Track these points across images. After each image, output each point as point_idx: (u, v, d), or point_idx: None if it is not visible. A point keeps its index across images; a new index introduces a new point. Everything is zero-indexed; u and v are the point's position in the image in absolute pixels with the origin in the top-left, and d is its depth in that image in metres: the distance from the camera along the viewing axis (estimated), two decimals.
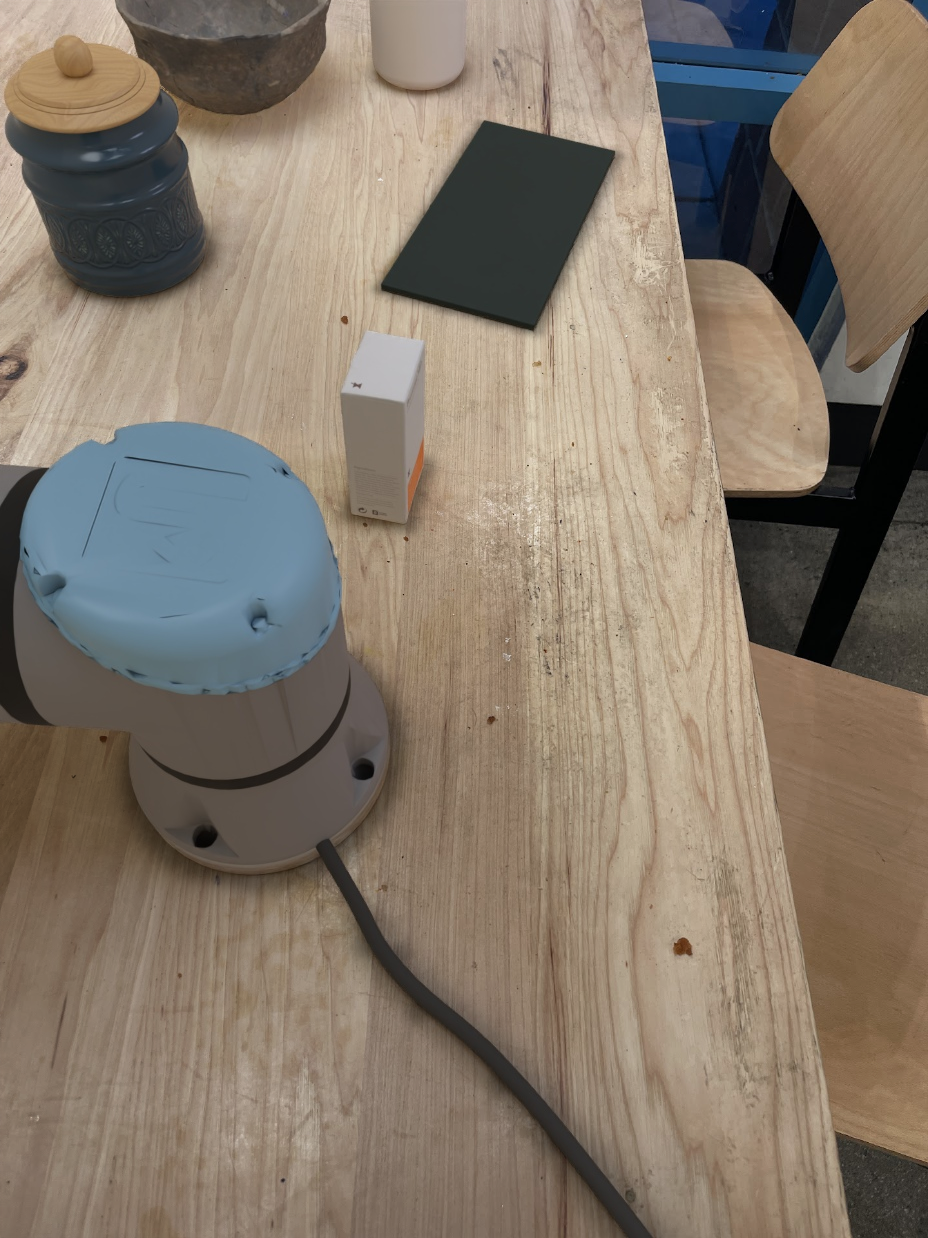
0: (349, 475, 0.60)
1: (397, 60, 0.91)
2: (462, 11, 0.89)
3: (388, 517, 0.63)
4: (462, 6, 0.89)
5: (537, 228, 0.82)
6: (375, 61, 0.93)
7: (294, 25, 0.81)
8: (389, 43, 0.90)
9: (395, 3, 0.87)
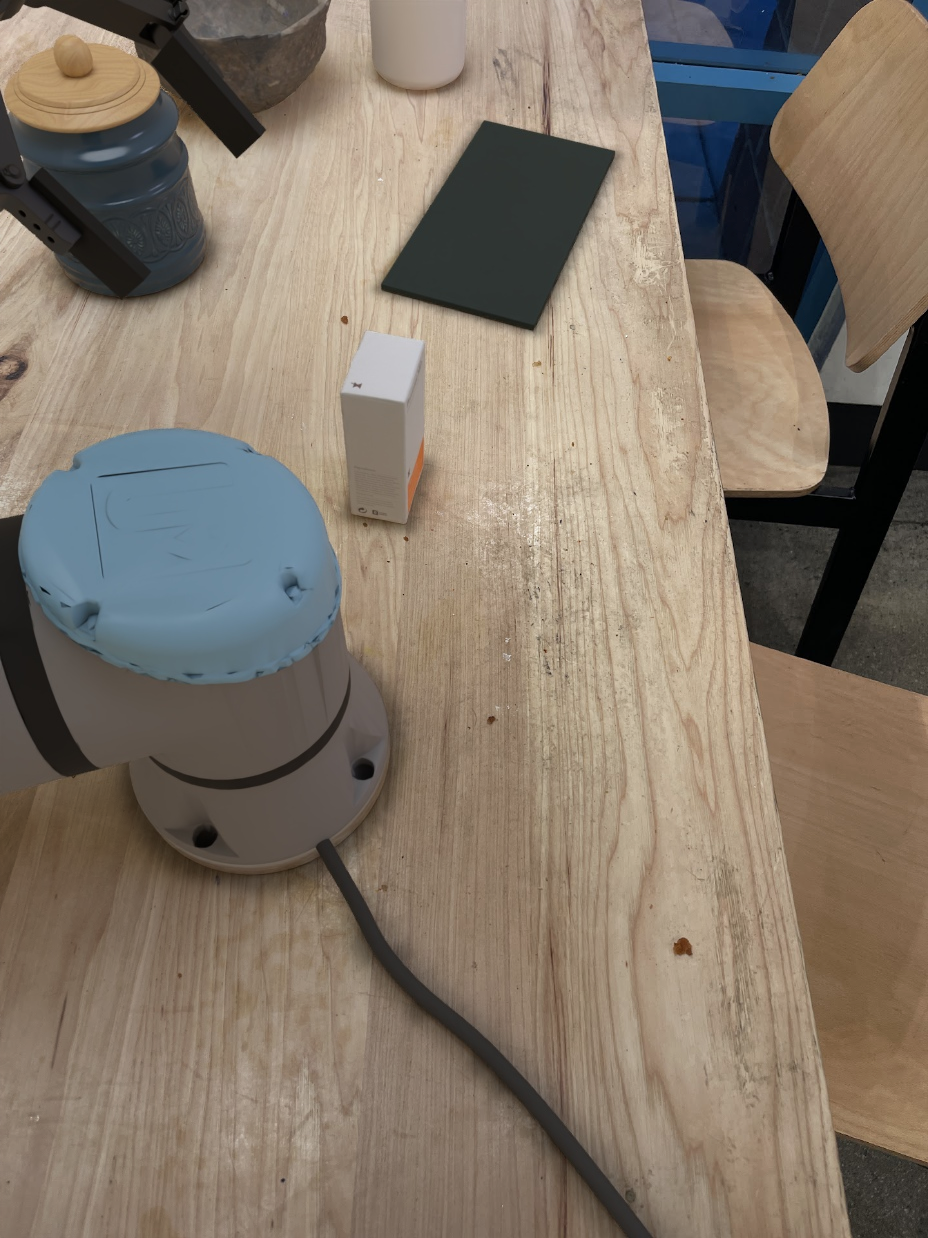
0: (349, 475, 0.60)
1: (397, 60, 0.91)
2: (462, 11, 0.89)
3: (388, 517, 0.63)
4: (462, 6, 0.89)
5: (537, 228, 0.82)
6: (375, 61, 0.93)
7: (294, 25, 0.81)
8: (389, 43, 0.90)
9: (395, 3, 0.87)
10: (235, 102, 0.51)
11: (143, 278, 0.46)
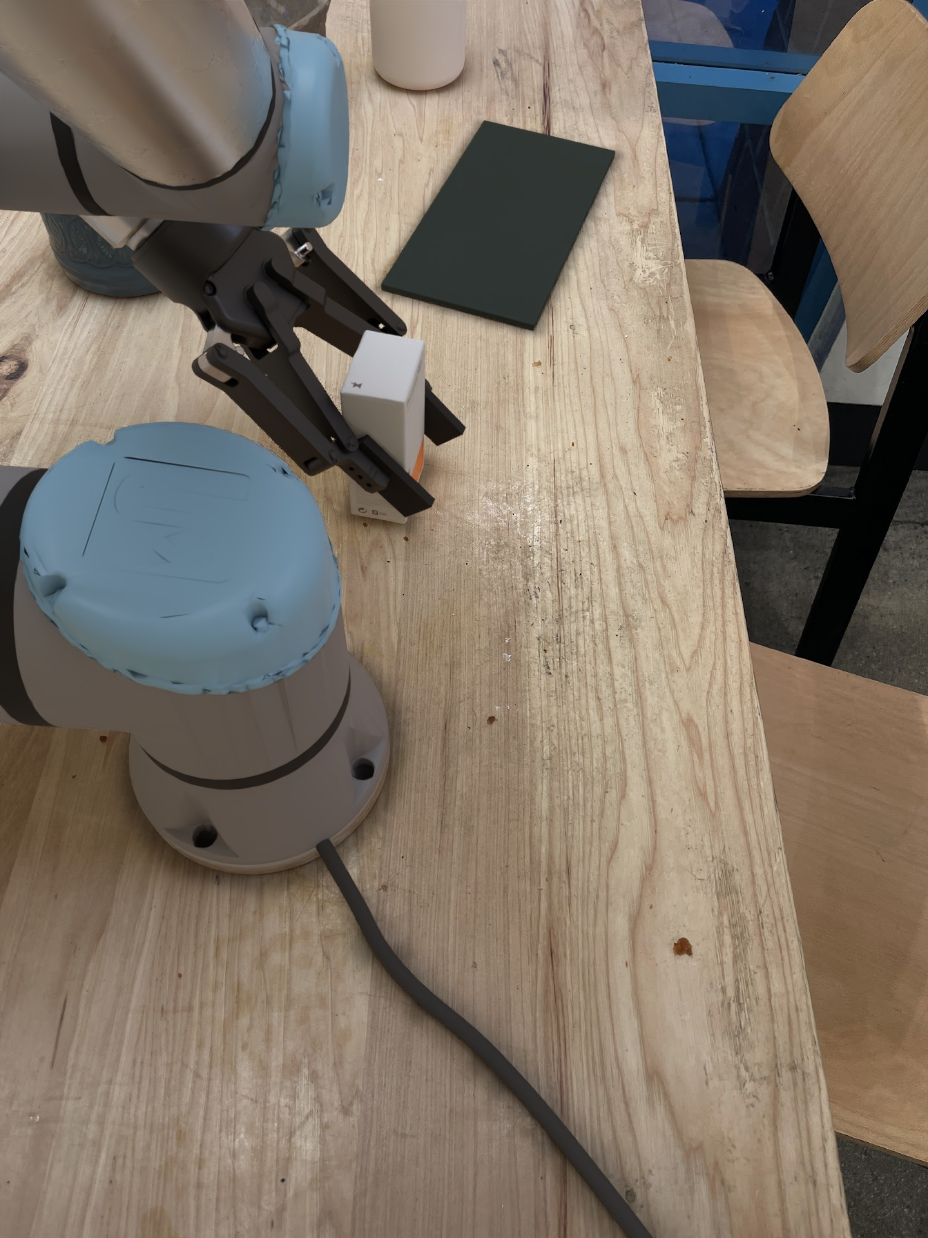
0: None
1: (397, 60, 0.91)
2: (462, 11, 0.89)
3: (388, 517, 0.63)
4: (462, 6, 0.89)
5: (537, 228, 0.82)
6: (375, 61, 0.93)
7: (294, 25, 0.81)
8: (389, 43, 0.90)
9: (395, 3, 0.87)
10: (444, 411, 0.62)
11: (430, 505, 0.59)
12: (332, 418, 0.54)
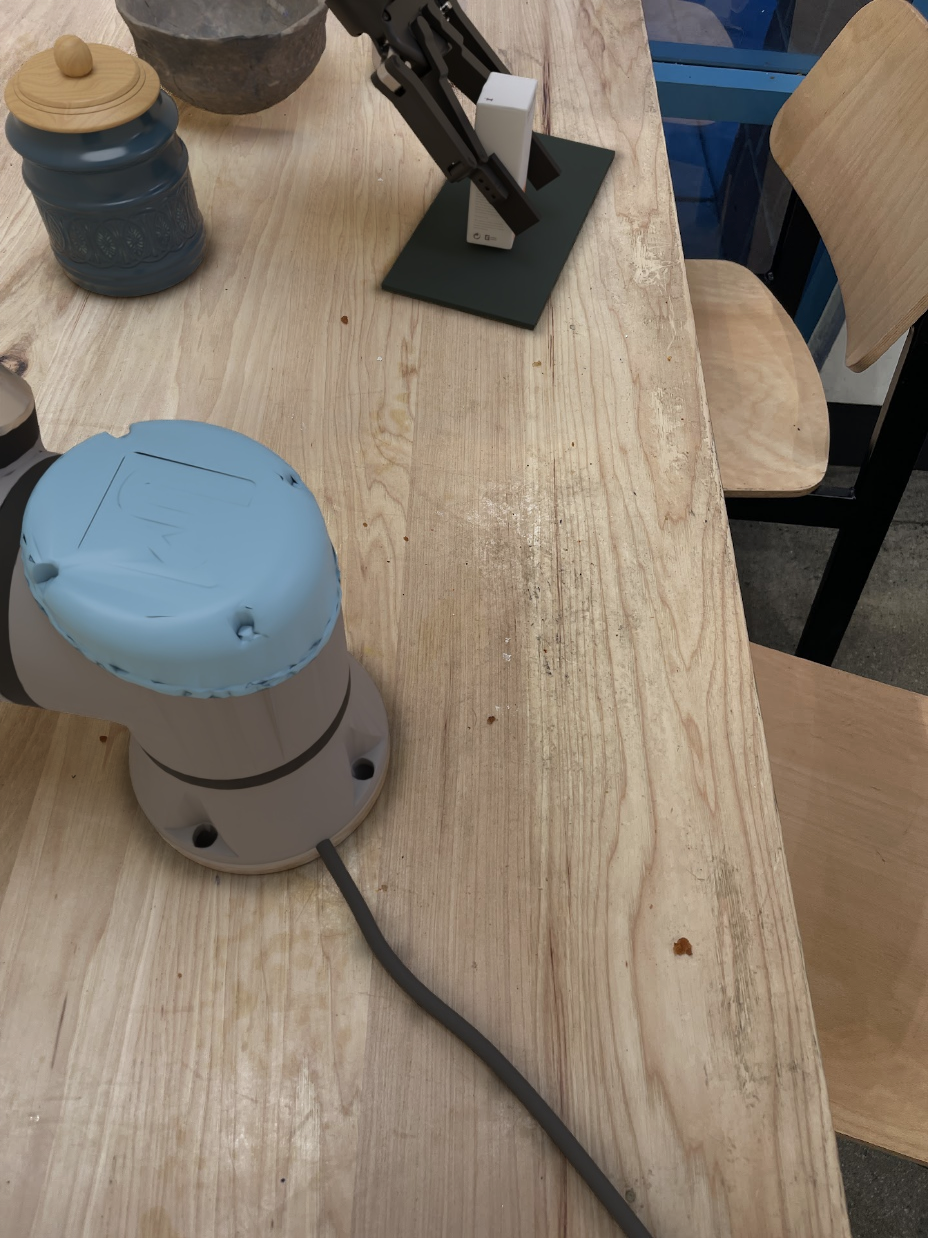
0: (471, 195, 0.76)
1: None
2: None
3: (497, 242, 0.78)
4: (462, 6, 0.89)
5: (537, 228, 0.82)
6: (375, 61, 0.93)
7: (294, 25, 0.81)
8: None
9: None
10: (546, 153, 0.78)
11: (539, 219, 0.75)
12: (469, 133, 0.70)
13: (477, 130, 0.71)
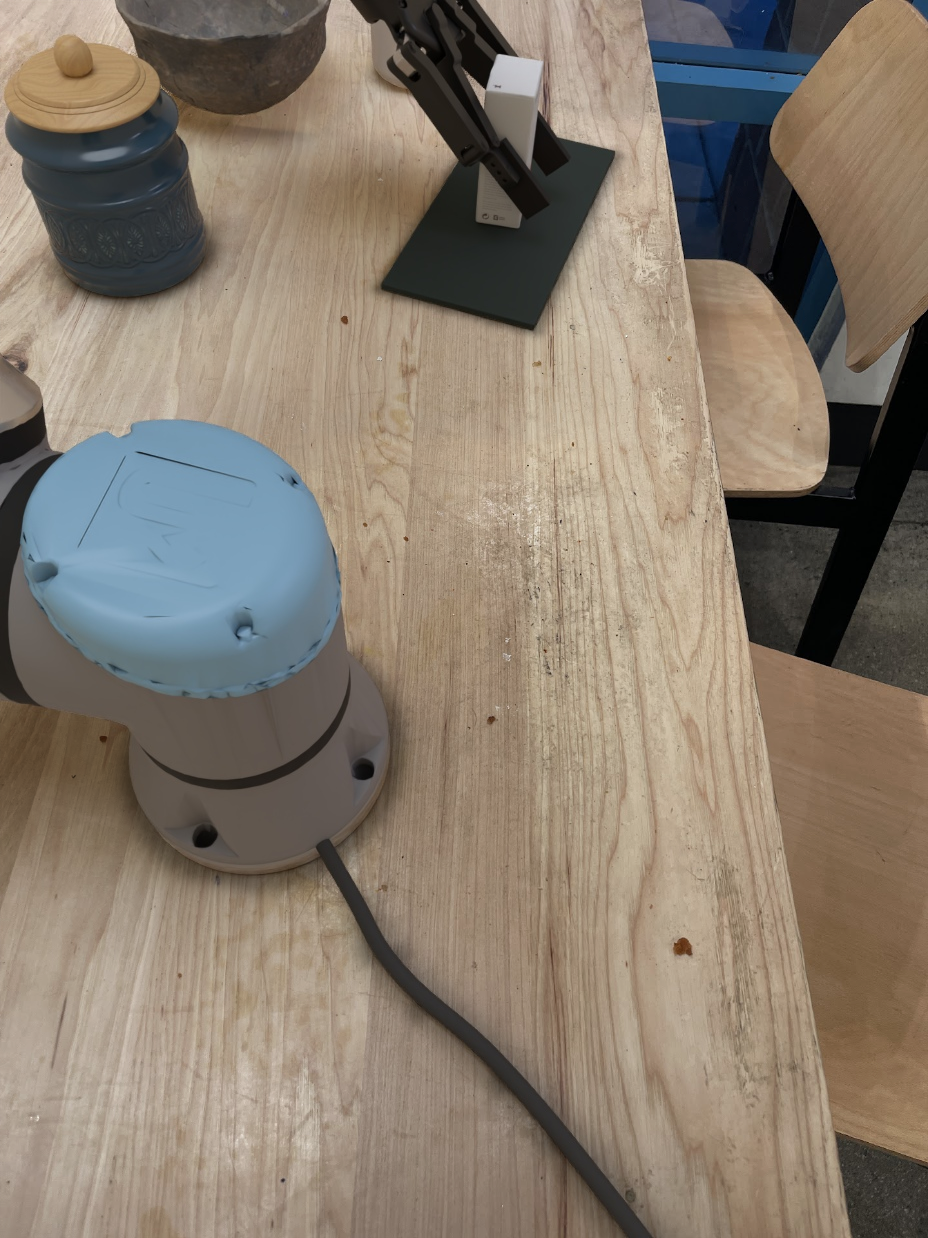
0: (480, 178, 0.78)
1: None
2: None
3: (505, 221, 0.81)
4: None
5: (537, 228, 0.82)
6: (375, 61, 0.93)
7: (294, 25, 0.81)
8: (389, 43, 0.90)
9: None
10: (556, 139, 0.80)
11: (549, 203, 0.77)
12: (482, 118, 0.72)
13: None
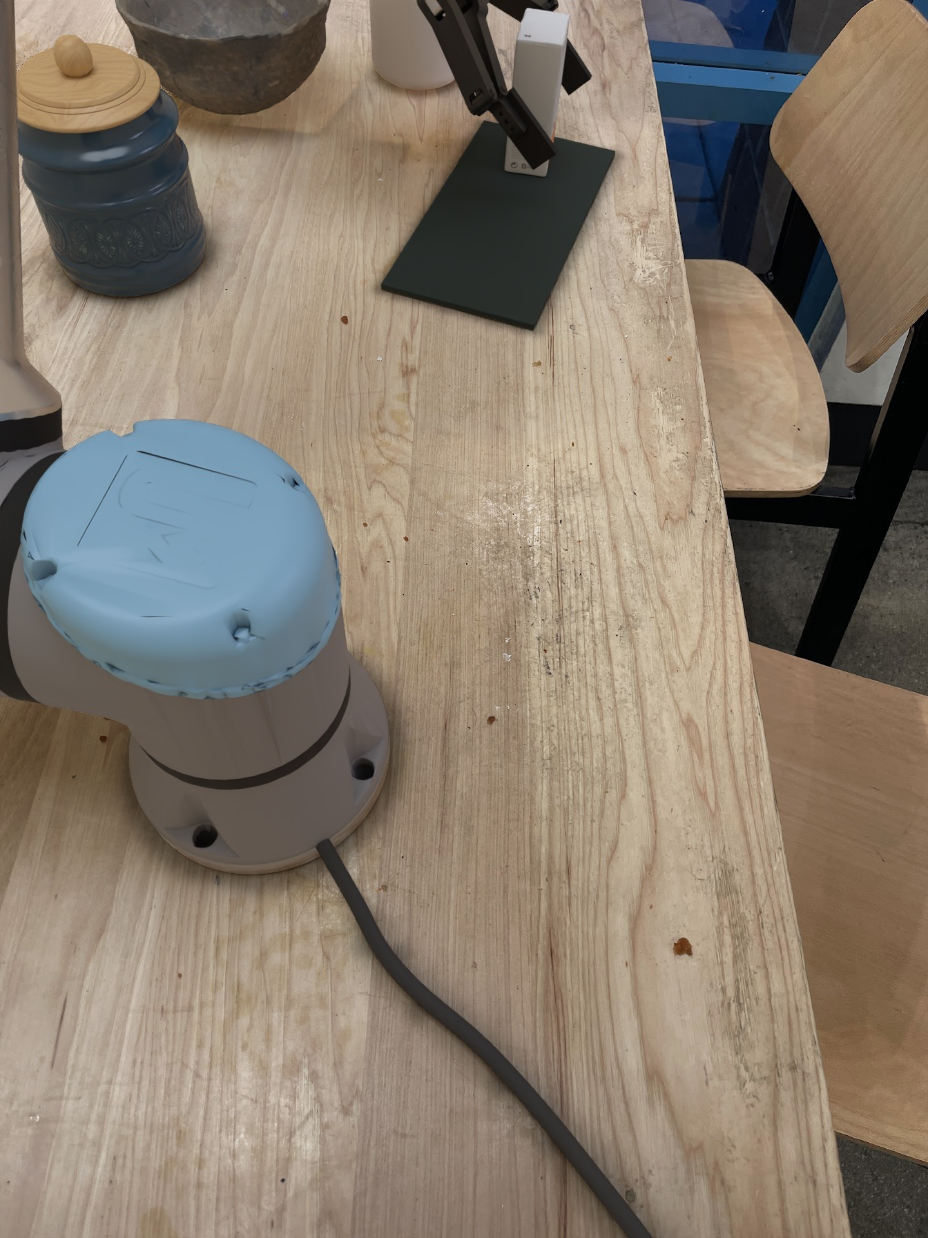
0: None
1: (397, 60, 0.91)
2: None
3: (533, 170, 0.85)
4: None
5: (537, 228, 0.82)
6: (375, 61, 0.93)
7: (294, 25, 0.81)
8: (389, 43, 0.90)
9: (395, 3, 0.87)
10: (578, 58, 0.85)
11: (555, 153, 0.79)
12: (494, 66, 0.75)
13: (516, 65, 0.78)
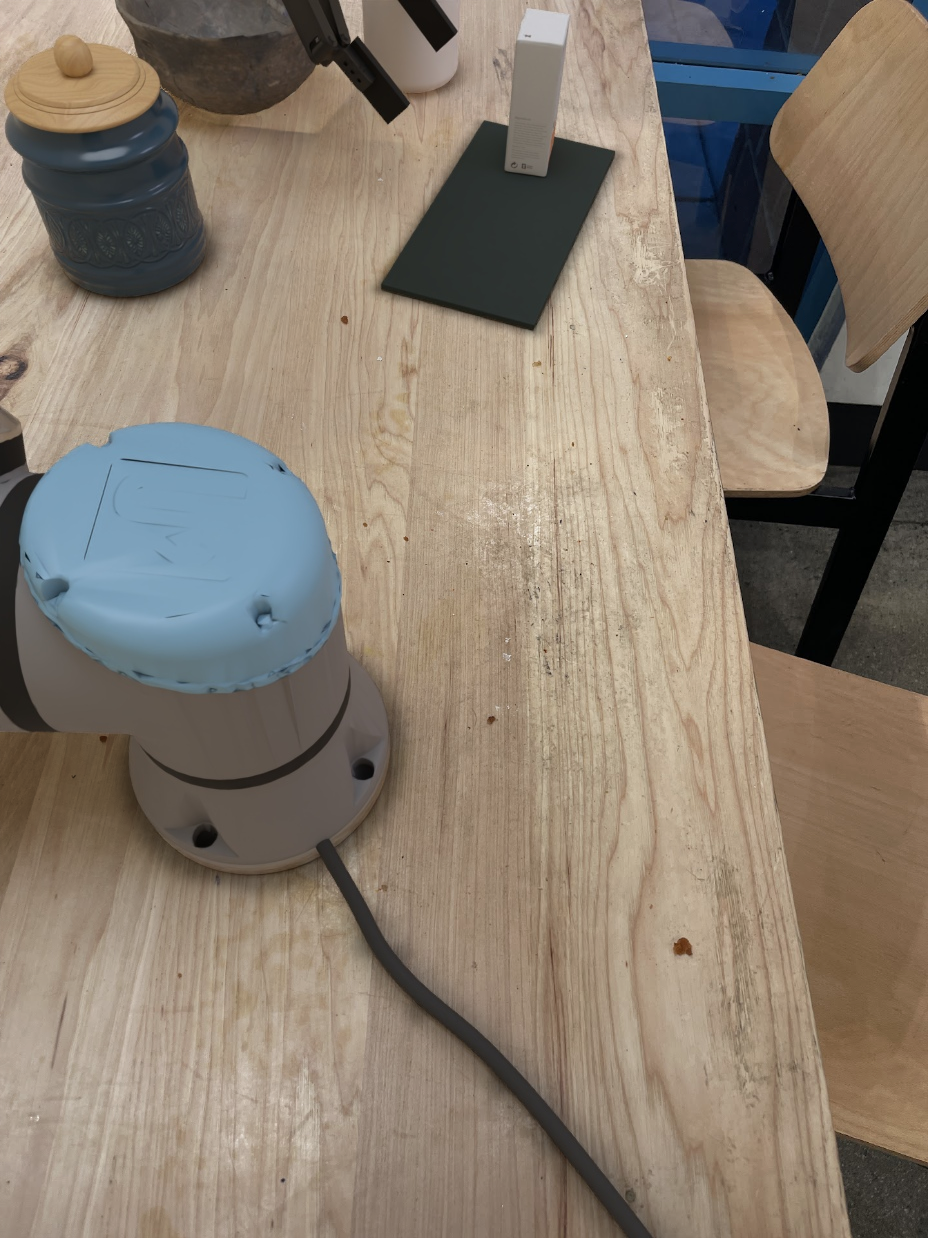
0: (510, 127, 0.82)
1: (383, 60, 0.91)
2: (451, 17, 0.89)
3: (533, 170, 0.85)
4: (451, 12, 0.88)
5: (537, 228, 0.82)
6: None
7: None
8: (376, 43, 0.90)
9: (380, 3, 0.87)
10: (441, 12, 0.83)
11: (407, 106, 0.77)
12: (336, 13, 0.72)
13: (516, 65, 0.78)
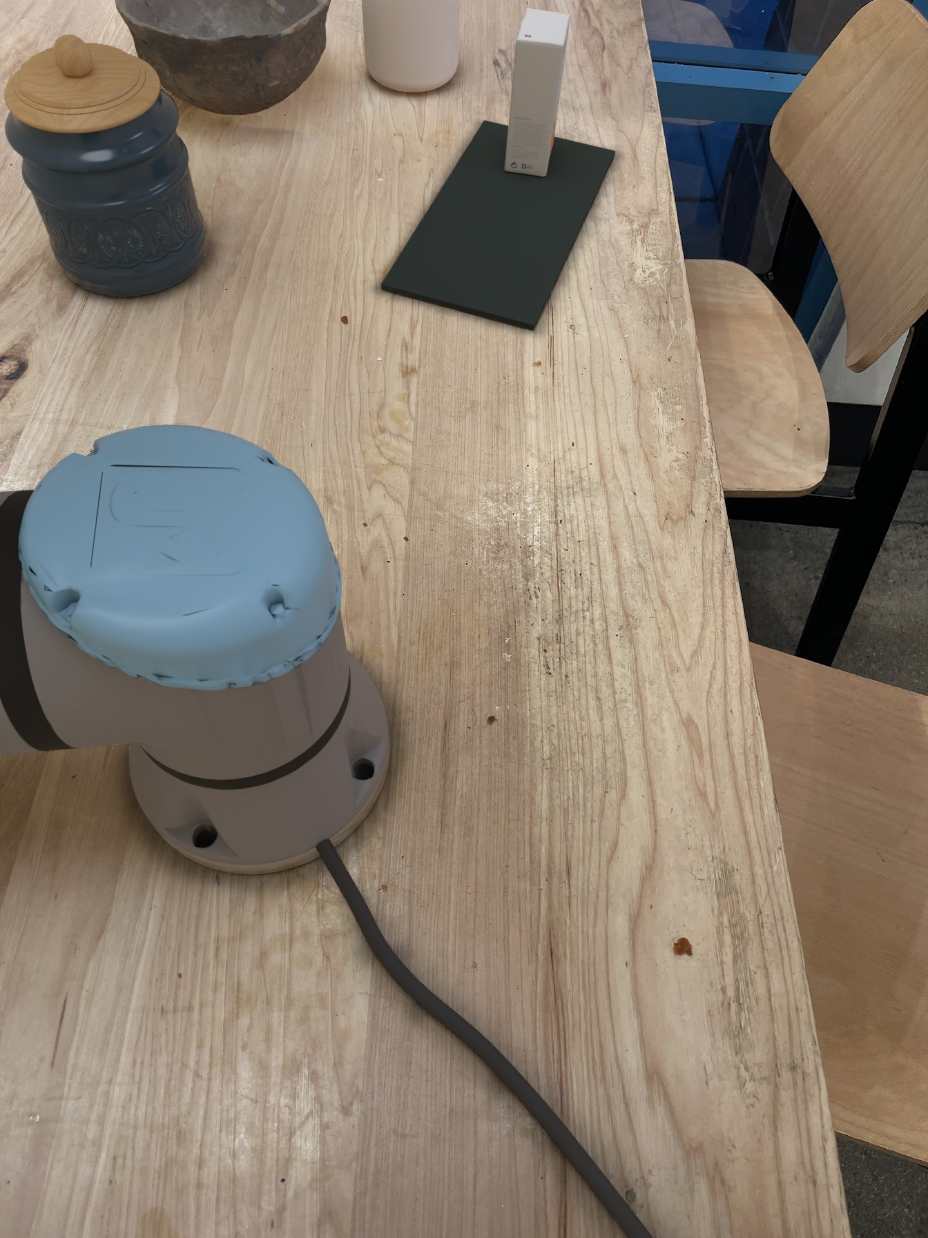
0: (510, 127, 0.82)
1: (383, 60, 0.91)
2: (451, 16, 0.89)
3: (533, 170, 0.85)
4: (451, 11, 0.88)
5: (537, 228, 0.82)
6: (365, 59, 0.94)
7: (294, 25, 0.81)
8: (375, 42, 0.90)
9: (380, 2, 0.87)
10: None
11: None
12: None
13: (516, 65, 0.78)
